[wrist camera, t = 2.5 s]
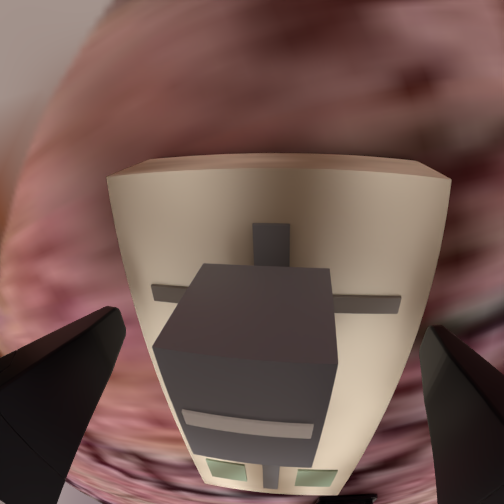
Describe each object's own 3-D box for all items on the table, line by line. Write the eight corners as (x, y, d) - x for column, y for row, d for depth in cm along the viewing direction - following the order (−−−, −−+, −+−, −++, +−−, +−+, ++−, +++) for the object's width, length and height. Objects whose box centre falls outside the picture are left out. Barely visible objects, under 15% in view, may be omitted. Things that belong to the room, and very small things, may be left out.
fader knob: (327, 248, 8) (338, 366, 4) (316, 357, 10) (311, 469, 6) (215, 244, 8) (149, 349, 5) (227, 351, 10) (192, 456, 6)
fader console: (416, 160, 9) (453, 180, 7) (338, 463, 19) (337, 496, 16) (149, 159, 11) (103, 178, 8) (213, 453, 21) (204, 484, 18)
